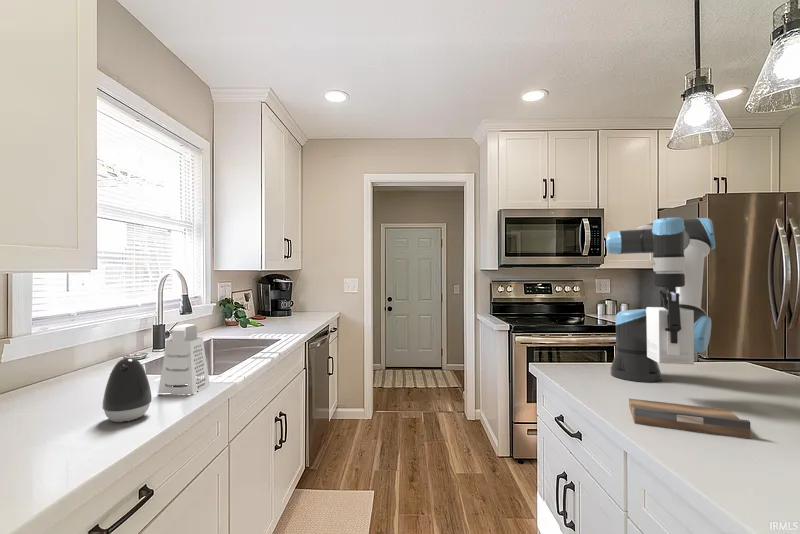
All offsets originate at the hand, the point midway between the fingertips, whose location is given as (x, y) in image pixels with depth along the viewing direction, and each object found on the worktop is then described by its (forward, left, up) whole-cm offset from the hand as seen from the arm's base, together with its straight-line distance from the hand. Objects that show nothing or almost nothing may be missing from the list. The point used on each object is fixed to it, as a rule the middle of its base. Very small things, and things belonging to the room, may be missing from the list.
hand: (669, 351), depth 116 cm
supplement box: (0, 0, -3) cm, 3 cm away
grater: (+49, -135, -14) cm, 145 cm away
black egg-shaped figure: (+72, -126, -14) cm, 146 cm away
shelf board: (+17, 0, -14) cm, 22 cm away
